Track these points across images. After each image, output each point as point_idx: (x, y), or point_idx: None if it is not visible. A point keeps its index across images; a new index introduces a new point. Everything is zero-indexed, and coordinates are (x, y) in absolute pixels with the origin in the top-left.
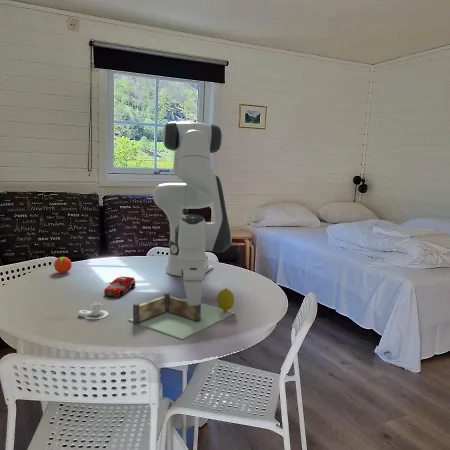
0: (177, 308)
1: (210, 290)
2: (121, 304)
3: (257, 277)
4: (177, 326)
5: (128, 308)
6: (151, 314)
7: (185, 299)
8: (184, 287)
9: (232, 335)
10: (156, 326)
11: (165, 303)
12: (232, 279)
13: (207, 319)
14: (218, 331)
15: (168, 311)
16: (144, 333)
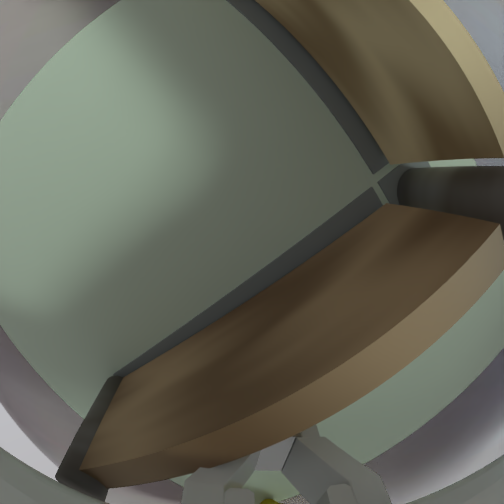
0: (309, 291)
1: (496, 423)
2: (495, 18)
3: None
4: (45, 219)
5: (463, 10)
6: (280, 8)
7: (500, 347)
8: (497, 487)
9: (22, 428)
10: (84, 58)
11: (453, 173)
12: (500, 452)
13: None
14: (38, 412)
15: (397, 202)
16: (50, 15)
